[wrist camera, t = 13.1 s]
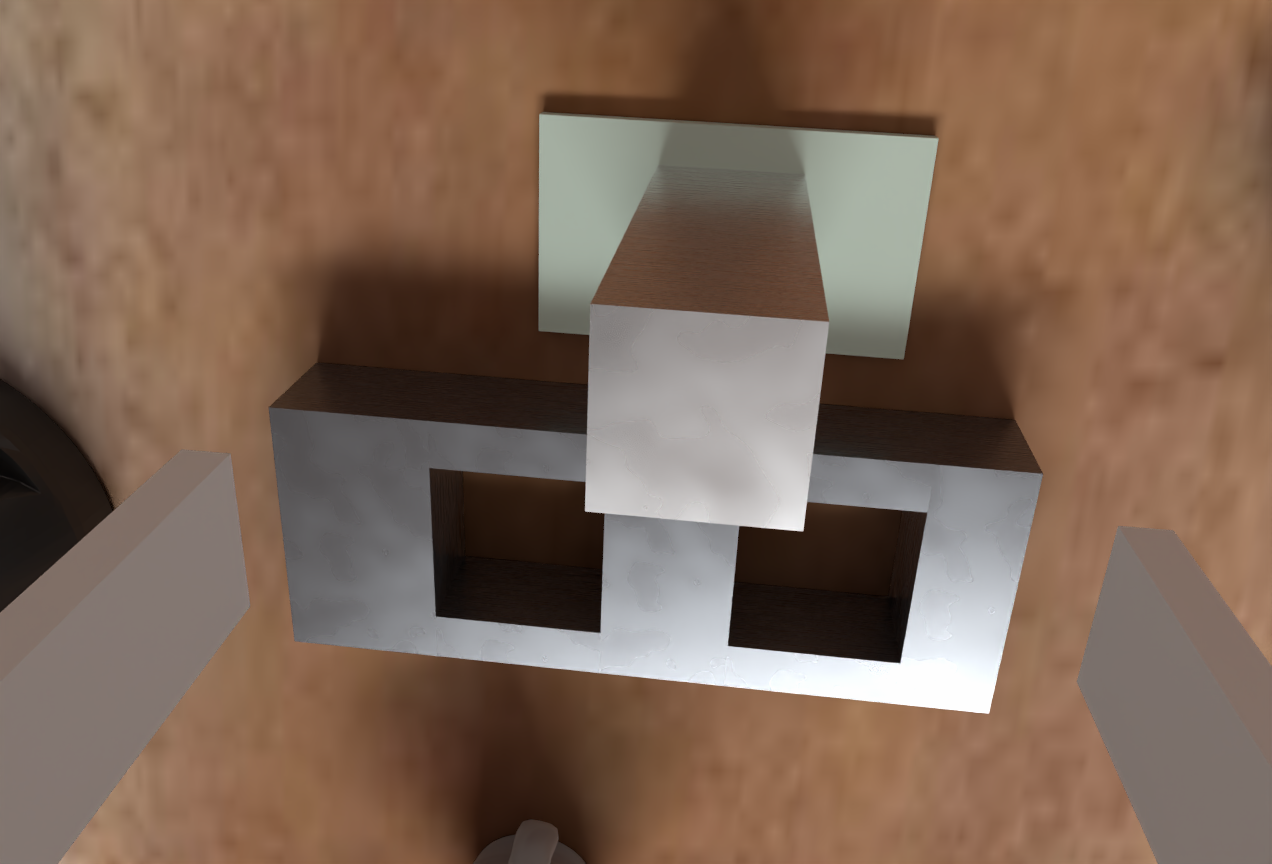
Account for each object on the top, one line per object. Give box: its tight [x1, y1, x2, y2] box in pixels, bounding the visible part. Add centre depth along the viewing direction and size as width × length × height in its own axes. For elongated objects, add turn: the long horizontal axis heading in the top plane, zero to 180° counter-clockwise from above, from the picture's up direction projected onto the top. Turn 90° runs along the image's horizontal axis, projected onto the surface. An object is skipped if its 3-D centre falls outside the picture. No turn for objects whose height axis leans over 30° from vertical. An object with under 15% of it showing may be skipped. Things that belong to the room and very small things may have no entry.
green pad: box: [539, 112, 938, 359], centre depth 34 cm, size 12×7×1 cm, turn 88°
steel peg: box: [585, 165, 829, 531], centre depth 27 cm, size 4×4×14 cm
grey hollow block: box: [269, 363, 1043, 714], centre depth 37 cm, size 24×9×4 cm, turn 88°
